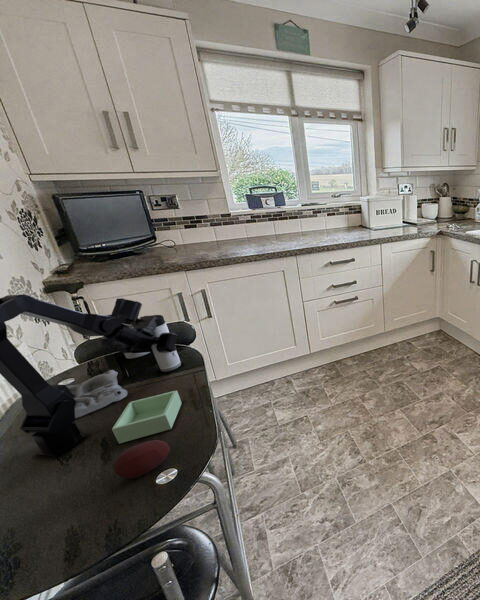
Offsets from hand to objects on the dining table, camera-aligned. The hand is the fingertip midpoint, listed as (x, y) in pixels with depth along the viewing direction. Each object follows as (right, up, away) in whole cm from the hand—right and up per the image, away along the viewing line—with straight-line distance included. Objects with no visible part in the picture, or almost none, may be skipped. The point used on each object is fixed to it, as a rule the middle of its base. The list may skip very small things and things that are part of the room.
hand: (167, 349), depth 115 cm
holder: (+15, -16, -26) cm, 34 cm away
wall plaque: (-16, -13, -12) cm, 24 cm away
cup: (-22, -4, +15) cm, 26 cm away
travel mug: (0, -7, +1) cm, 7 cm away
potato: (+25, -21, -41) cm, 53 cm away
